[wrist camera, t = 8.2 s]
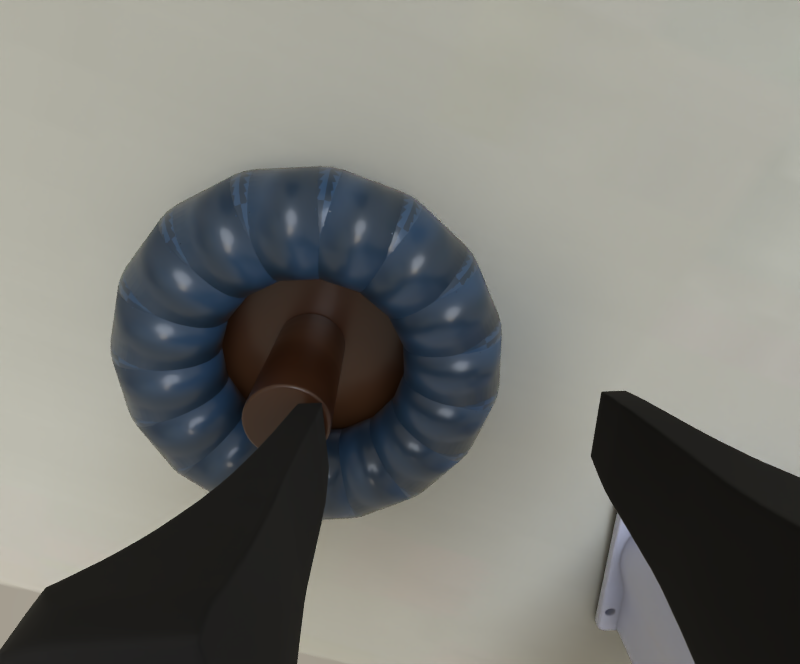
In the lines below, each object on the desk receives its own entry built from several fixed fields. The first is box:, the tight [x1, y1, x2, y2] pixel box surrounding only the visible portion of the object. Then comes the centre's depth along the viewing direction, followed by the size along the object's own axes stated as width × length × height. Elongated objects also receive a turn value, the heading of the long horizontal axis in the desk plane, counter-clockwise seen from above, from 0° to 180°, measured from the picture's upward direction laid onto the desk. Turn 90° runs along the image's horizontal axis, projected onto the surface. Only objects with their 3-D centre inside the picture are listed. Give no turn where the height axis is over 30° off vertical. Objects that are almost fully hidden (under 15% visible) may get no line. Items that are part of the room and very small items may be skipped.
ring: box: [111, 166, 502, 520], centre depth 16 cm, size 12×12×3 cm
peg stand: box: [222, 279, 404, 448], centre depth 16 cm, size 8×8×6 cm
